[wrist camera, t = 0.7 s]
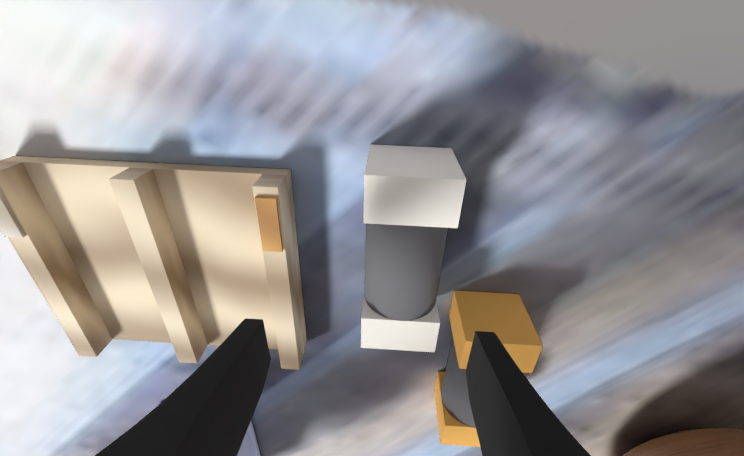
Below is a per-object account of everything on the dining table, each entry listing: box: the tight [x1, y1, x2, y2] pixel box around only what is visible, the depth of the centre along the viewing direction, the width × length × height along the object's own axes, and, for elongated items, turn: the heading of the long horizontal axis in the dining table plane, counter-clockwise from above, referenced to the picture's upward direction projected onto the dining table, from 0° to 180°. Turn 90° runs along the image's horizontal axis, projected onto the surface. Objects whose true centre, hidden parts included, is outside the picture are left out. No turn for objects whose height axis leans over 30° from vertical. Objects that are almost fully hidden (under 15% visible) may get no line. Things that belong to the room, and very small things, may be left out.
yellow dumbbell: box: [434, 290, 543, 447], centre depth 22 cm, size 10×4×4 cm, turn 178°
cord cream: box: [361, 144, 466, 352], centre depth 18 cm, size 10×4×4 cm, turn 178°
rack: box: [0, 156, 307, 370], centre depth 20 cm, size 13×15×2 cm
